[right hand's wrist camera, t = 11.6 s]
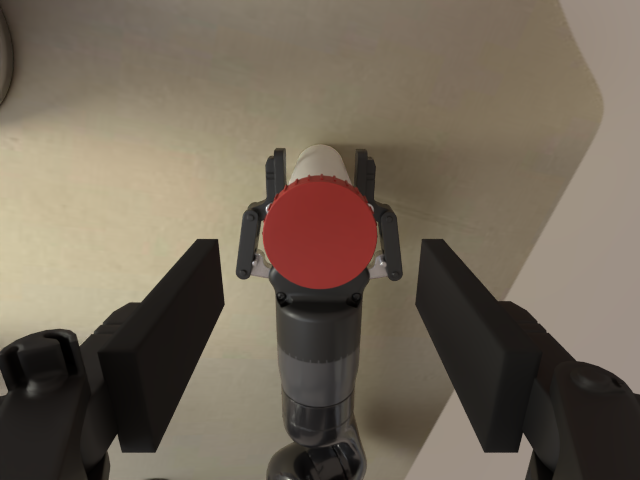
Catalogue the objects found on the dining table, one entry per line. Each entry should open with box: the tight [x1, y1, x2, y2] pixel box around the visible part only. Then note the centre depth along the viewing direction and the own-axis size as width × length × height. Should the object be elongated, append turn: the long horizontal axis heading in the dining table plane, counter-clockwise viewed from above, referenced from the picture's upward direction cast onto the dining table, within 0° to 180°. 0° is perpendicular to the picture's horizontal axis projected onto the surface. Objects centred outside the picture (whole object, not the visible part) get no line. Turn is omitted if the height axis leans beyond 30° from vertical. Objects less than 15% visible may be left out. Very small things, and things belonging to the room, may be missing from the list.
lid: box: [262, 174, 378, 289], centre depth 18 cm, size 6×6×2 cm
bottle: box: [288, 144, 352, 185], centre depth 27 cm, size 4×4×19 cm
